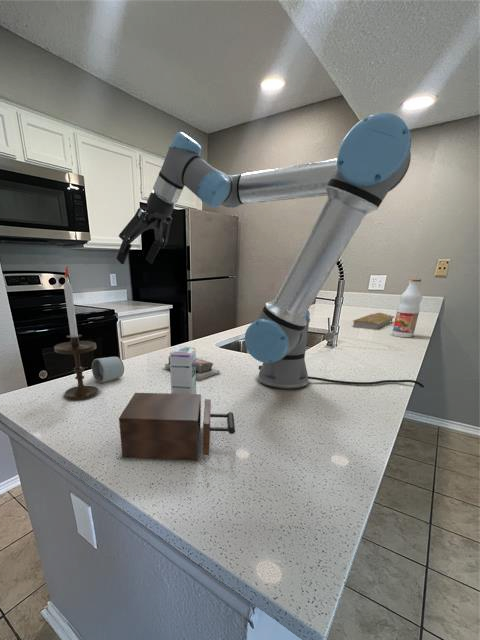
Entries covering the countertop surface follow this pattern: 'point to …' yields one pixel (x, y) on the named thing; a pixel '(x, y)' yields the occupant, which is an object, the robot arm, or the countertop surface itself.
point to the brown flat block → (373, 321)
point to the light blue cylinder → (107, 369)
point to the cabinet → (161, 426)
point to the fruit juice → (408, 310)
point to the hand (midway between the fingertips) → (134, 261)
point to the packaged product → (201, 368)
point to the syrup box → (183, 370)
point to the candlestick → (75, 349)
